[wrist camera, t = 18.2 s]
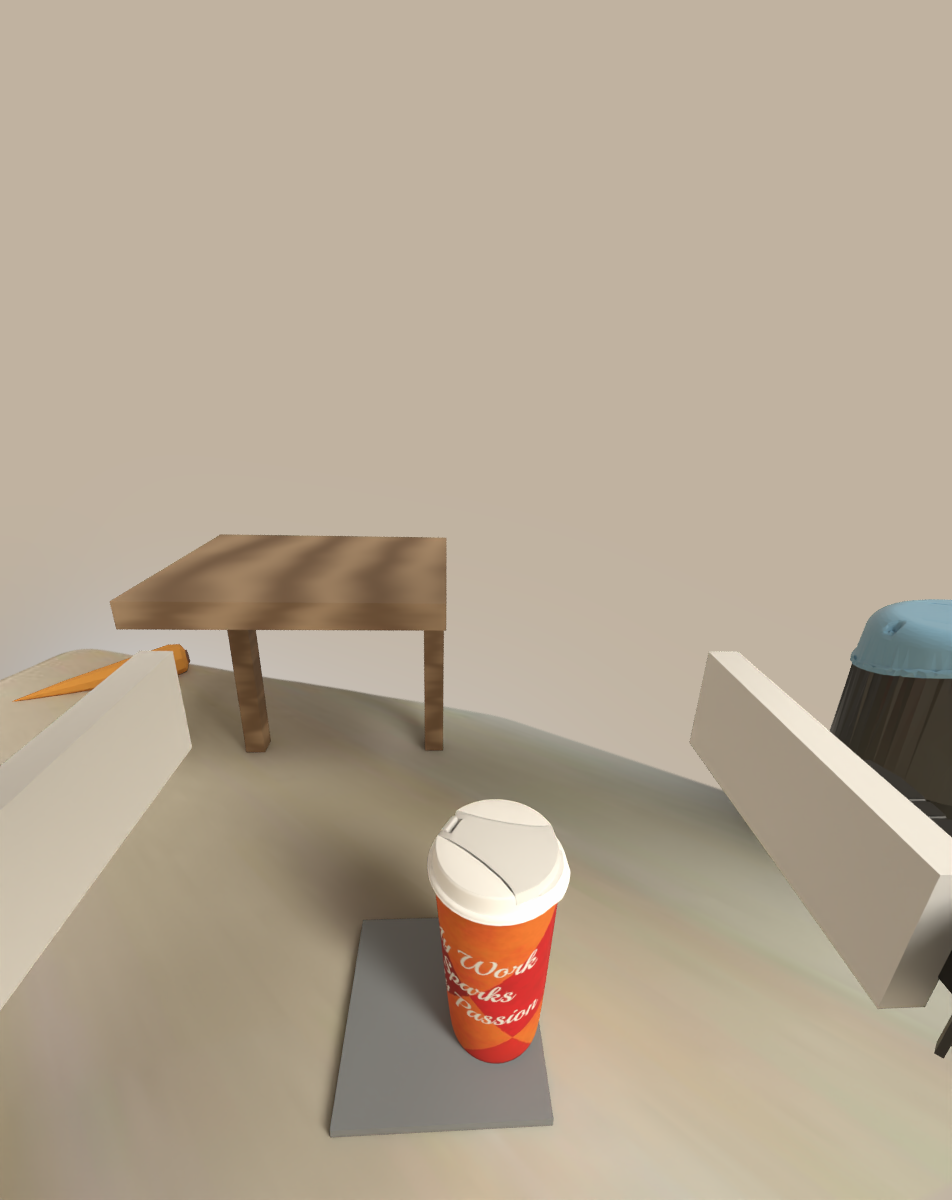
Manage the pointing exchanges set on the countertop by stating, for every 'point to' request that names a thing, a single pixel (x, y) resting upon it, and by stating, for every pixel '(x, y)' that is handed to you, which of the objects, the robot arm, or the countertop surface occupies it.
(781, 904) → the countertop surface
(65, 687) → the carrot
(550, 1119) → the slate mat
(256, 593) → the canopy shelf
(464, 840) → the paper cup
